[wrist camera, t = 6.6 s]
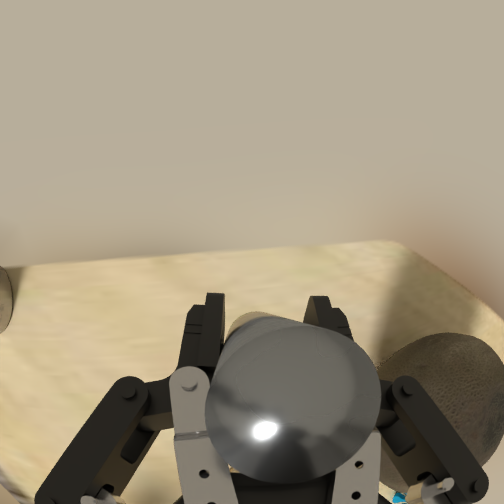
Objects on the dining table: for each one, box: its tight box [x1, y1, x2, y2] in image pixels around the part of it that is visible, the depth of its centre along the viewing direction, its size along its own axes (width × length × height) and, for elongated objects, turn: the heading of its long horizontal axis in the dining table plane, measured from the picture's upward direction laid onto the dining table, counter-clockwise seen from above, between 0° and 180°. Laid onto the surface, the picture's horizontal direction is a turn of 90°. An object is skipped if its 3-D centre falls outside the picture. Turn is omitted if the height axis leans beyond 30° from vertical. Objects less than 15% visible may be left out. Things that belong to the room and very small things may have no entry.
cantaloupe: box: [377, 333, 504, 493], centre depth 17 cm, size 14×14×15 cm
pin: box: [204, 312, 381, 483], centre depth 11 cm, size 4×4×12 cm
